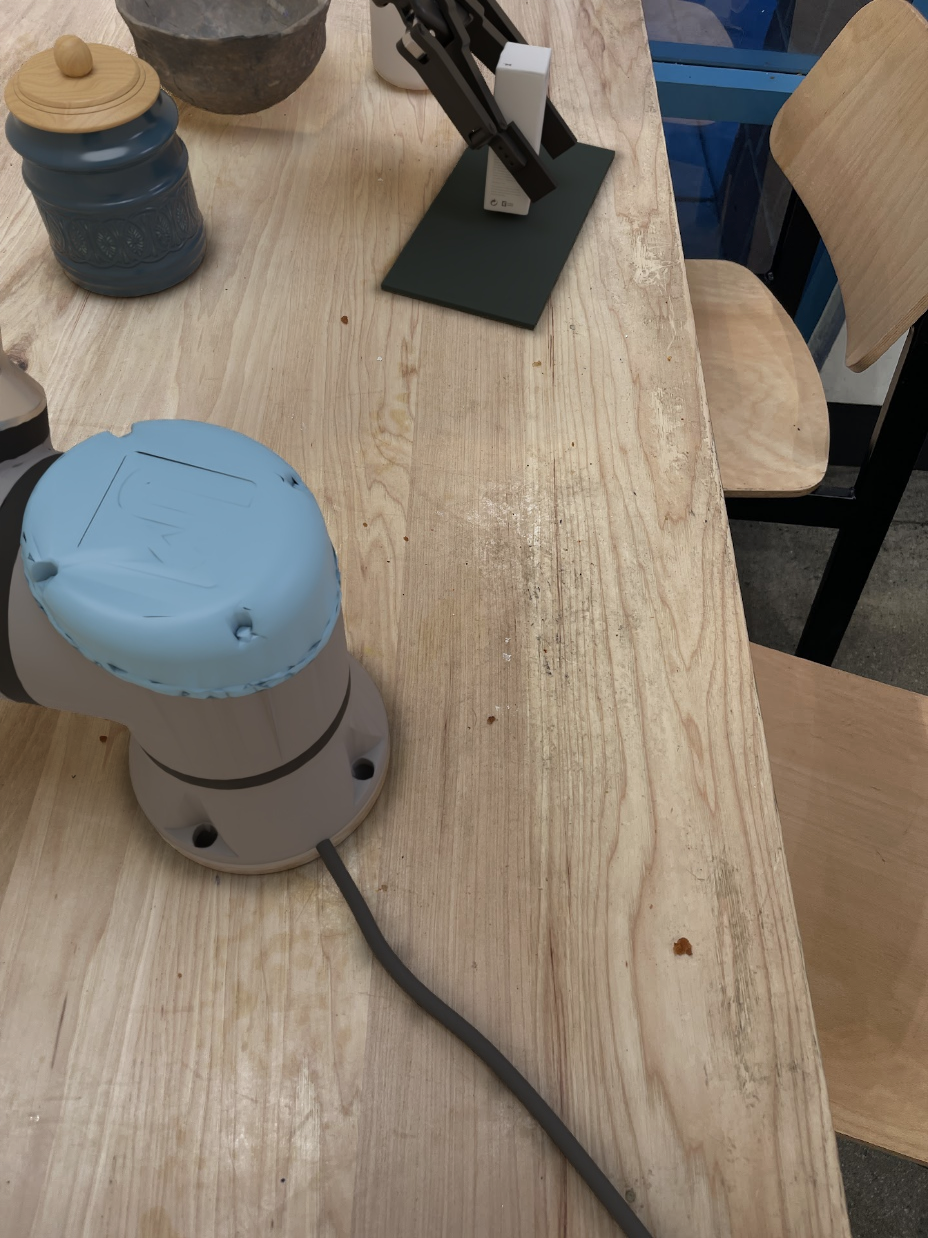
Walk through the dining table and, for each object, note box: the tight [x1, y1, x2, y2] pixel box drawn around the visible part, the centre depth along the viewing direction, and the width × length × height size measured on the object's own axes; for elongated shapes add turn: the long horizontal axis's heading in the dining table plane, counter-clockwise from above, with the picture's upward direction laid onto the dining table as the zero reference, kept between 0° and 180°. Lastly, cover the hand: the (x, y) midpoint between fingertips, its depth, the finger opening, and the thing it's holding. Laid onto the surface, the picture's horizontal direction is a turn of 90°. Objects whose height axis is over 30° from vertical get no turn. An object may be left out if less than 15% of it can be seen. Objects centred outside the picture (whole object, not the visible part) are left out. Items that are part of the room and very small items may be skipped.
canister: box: [3, 34, 207, 298], centre depth 71 cm, size 13×13×18 cm
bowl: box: [114, 0, 332, 116], centre depth 89 cm, size 21×21×10 cm
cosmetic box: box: [484, 42, 553, 215], centre depth 79 cm, size 6×4×12 cm
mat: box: [380, 141, 616, 331], centre depth 83 cm, size 28×14×1 cm, turn 161°
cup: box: [368, 0, 430, 91], centre depth 92 cm, size 10×10×10 cm
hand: (555, 170), depth 81 cm, fingers closed on cosmetic box, 7 cm apart
